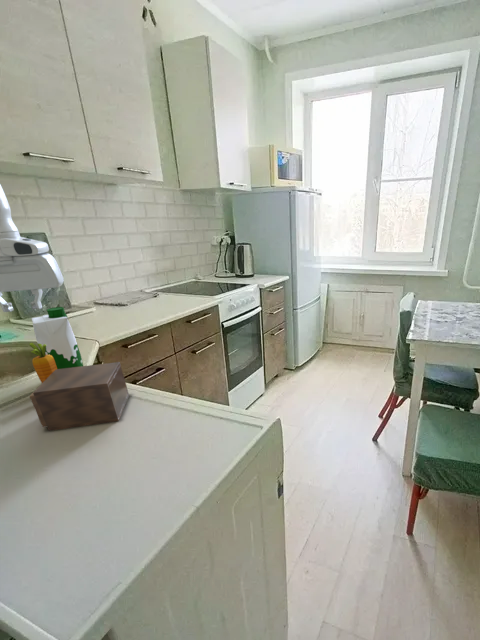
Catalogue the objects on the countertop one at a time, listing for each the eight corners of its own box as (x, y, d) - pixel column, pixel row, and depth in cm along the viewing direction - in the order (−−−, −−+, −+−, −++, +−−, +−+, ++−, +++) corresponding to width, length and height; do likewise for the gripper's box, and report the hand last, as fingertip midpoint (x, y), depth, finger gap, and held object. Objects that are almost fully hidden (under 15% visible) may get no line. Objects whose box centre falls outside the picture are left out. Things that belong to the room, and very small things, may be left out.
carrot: (71, 394, 94) (52, 340, 87) (52, 402, 90) (30, 347, 83) (61, 390, 96) (41, 338, 89) (42, 398, 92) (20, 344, 86)
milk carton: (89, 377, 103) (67, 309, 95) (54, 386, 99) (27, 316, 90) (84, 368, 110) (62, 304, 101) (50, 376, 105) (25, 310, 96)
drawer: (36, 428, 77) (23, 396, 74) (56, 403, 87) (45, 375, 84) (107, 418, 80) (97, 387, 76) (118, 395, 90) (110, 367, 86)
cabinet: (48, 431, 78) (32, 392, 73) (68, 404, 89) (55, 369, 85) (118, 421, 80) (107, 383, 76) (129, 396, 91) (119, 361, 87)
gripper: (-65, 252, 72) (-35, 318, 78) (43, 245, 76) (65, 309, 82) (-46, 249, 78) (-19, 311, 84) (55, 243, 81) (74, 303, 87)
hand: (23, 310), depth 83 cm, fingers open, 5 cm apart
